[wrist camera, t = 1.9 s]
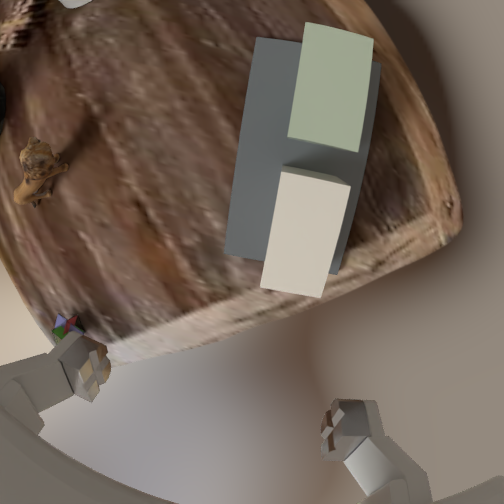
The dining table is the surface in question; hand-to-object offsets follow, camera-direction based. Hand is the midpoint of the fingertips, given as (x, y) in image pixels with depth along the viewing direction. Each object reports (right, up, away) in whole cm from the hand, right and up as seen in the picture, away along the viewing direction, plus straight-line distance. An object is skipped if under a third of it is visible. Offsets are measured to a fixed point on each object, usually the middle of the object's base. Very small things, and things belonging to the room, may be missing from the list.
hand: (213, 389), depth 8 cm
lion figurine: (-30, +17, +25) cm, 42 cm away
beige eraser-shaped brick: (+7, +8, +22) cm, 24 cm away
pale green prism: (+9, +21, +16) cm, 28 cm away
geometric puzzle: (-33, -9, +36) cm, 49 cm away
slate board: (+7, +15, +20) cm, 26 cm away
